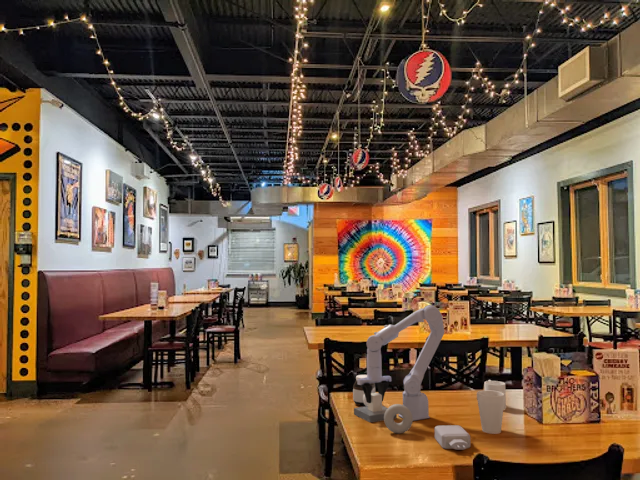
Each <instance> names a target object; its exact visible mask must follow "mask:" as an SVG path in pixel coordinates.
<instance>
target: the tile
mask: <svg viewBox="0 0 640 480" xmlns="http://www.w3.org/2000/svg"><path fill="white" fill-rule="evenodd" d="M388 408H389V407H386V406H384V405H382V411H376V412H373V411H371V410H368V406H359V407H354V408H353V415H354V416H356V417H358V418H360V419H363V420H364V421H366V422H368V423H374V422H382V421H384V414H385V412H386V410H387V409H388ZM397 416H398V414H396V415H395V416H394V418H393V419H394V420H395V419H397Z"/></svg>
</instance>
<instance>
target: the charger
mask: <svg viewBox="0 0 640 480" xmlns="http://www.w3.org/2000/svg"><path fill="white" fill-rule="evenodd" d="M434 439H435V440H436V442H437V443H438V444H439V445H440V447H441V448H442V449H444V450H450V449H451V450H461V451H462V450H466V449H469V448H471V435H470V433H469V432H467V430H465V429H464V428H463V427H462V426H461V425H458V424H457V425H456V424H454V425H451V424H450V425H449V424H448V425H436V426H435V427H434Z"/></svg>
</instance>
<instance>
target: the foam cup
mask: <svg viewBox="0 0 640 480" xmlns="http://www.w3.org/2000/svg"><path fill="white" fill-rule="evenodd" d="M476 400H477V406H478V412H479V413H478V414H479V417H480V424H481V425H480V426H481V429H482V432H483V433H487V434H491V435H492V434H493V435H494V434H495V435H496V434H500V433H502V426H503V416H504V410H503V407H504V402H505V399H504V393H502V392H498V391H491V390H485V389H483V390H478V391H476Z"/></svg>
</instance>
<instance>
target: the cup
mask: <svg viewBox="0 0 640 480" xmlns="http://www.w3.org/2000/svg"><path fill="white" fill-rule="evenodd" d="M483 384H484V387H483V388H484V390H491V391H498V392H502V393H504V399H505V402H504V407H503V411H505V410H507V397H506V382H504V381H498V380H491V379H488V380H486V381H484V383H483Z"/></svg>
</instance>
